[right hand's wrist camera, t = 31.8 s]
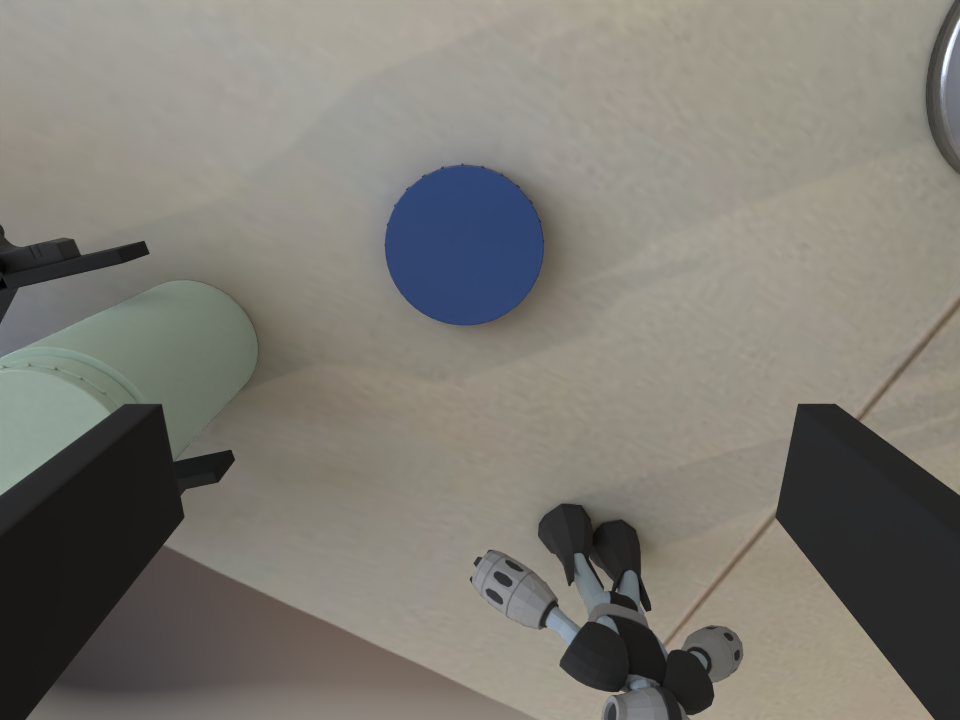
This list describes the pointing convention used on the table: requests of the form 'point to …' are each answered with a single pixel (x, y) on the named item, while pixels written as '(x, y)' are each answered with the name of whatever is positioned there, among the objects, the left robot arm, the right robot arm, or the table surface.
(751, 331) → the table surface
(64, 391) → the jar
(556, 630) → the robot
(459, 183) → the lid
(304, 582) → the table surface
